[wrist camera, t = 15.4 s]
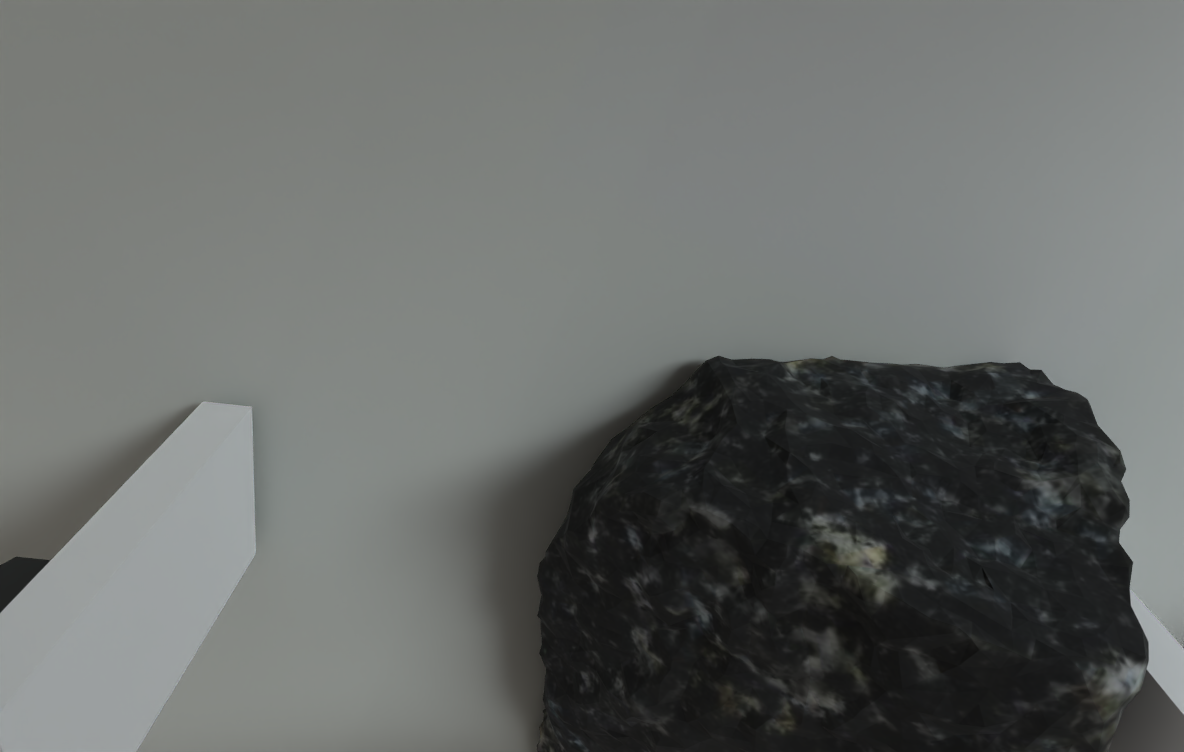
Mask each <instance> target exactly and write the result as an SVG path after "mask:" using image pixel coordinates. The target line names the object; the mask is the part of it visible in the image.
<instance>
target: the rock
mask: <svg viewBox="0 0 1184 752" xmlns="http://www.w3.org/2000/svg"><path fill="white" fill-rule="evenodd" d="M1125 471H1126V467H1125V464H1124V461H1123V458H1122V455H1121V452H1120V450H1119V449H1118V448H1117V446H1116V445H1115V444H1114V443H1113V442H1112V441H1111V440H1110V438H1109V437H1108V436H1107V435H1106V434H1105V433H1104V432H1103V431H1102V429H1101V428H1100V427H1099V426H1098V425H1097V422H1096V420H1095V417H1094V415H1093V412H1092V408H1091V406H1090V404H1089V402H1088V400H1087V399H1086V398H1084V397H1083V396H1081V395H1080V394H1078V393H1076V392H1072V391H1068V390H1065V389H1062V388H1060V387H1058V386H1055V385H1053V384H1052V383H1051V381H1050V380H1049V379H1048V378H1047V376H1046V375H1045V374H1044V373H1043V371H1042V370H1030V369H1028V368H1027V367H1025V366H1024V365H1023V364H1021V363H1020V362H1019V363H1005V364H1003V363H994V362H988V363H980V364H971V365H961V366H953V367H950V368H941V367H933V366H927V365H920V364H910V365H899V364H888V363H868V362H859V361H850V360H840V359H837V358H835V357H833V356H831V357H828V358H826V359H823V360H820V359H805V360H798V361H791V362H784V363H782V362H778V361H773V360H769V359H739V360H731V359H727V358H724V357H721V356H717V357H714V358H712V359H709V360H707V361H705V362H704V363H703V365H702V366H701V367H700V368H699V369H698V370H697V371H696V372H695V373H694V374H693V375H692V376H691V378H690V379H689V380H688V381H687V382H686V383H685V384H684V385H683V386H682V387H681V388H680V389H679V390H678V391H677V392H676V393H675V394H673V395H672V396H671V397H670V398H668V399H667V400H665V401H663V402H662V403H660V404H658V405H657V406H655V407H653V408H652V409H650V410H649V411H648V412H647V413H645V414H644V415H643V416H642V417H641V418H639V419H638V420H637V421H636V422H635V423H633V424H632V425H631V426H630V427H628V428H627V429H626V430H624V431H623V432H621V433H620V434H619V435H617V436H616V437H614V438H613V439H612V440H611V441H610V443H609V444H608V445H607V447H606V448H605V449H604V451H603V452H602V454H601V455H600V456H599V458H598V459H597V461H596V462H595V464H594V466H593V467H592V469H591V470H590V471H589V472H588V474H587V475H586V476H585V477H584V478H583V479H582V480H581V482H580V483H579V484H578V485H577V486H576V487H575V488H574V490H573V495H572V500H571V504H570V508H569V511H568V515H567V517H566V519H565V521H564V522H563V524H562V526H561V527H560V529H559V531H558V533H557V534H556V536H555V537H554V539H553V541H552V542H551V544H550V546H549V548H548V549H547V551H546V557H545V558H544V559H543V560H542V562H541V563H540V566H539V571H538V576H537V577H538V581H539V586H540V590H541V601H540V606H539V612H538V617H539V618H540V620H541V635H542V646H541V649H540V652H539V653H540V655H541V657H542V660H543V662H544V664H545V666H546V676H545V688H544V695H543V702H544V705H545V708H546V709H545V710H543V713H544V721H543V722H542V724H541V726H540V727H539V728H540V741H539V743H538V745H537V750H538V752H1108V750H1109V747H1110V745H1111V742H1112V739H1113V737H1114V734H1115V731H1116V728H1117V726H1118V723H1119V721H1120V718H1121V715H1122V713H1123V710H1124V709H1125V708H1126V707H1127V706H1128V705H1129V703H1130V702H1131V701H1132V700H1133V699H1134V698H1135V696H1136V695H1137V694H1138V693H1139V692H1140V691H1141V688H1142V684H1143V680H1144V677H1145V673H1146V669H1147V666H1148V662H1149V642H1148V640H1147V637H1146V635H1145V633H1144V631H1143V629H1142V627H1141V625H1140V623H1139V621H1138V619H1137V617H1136V615H1135V613H1134V611H1133V609H1132V607H1131V599H1130V580H1131V572H1132V565H1133V562H1132V560H1131V559H1130V557H1129V556H1128V555H1127V553H1126V552H1125V550H1124V549H1123V548H1122V546H1121V545H1120V543H1119V535H1120V529H1121V527H1122V526H1123V525H1124V523H1125V522H1126V521H1127V519H1128V518H1129V501H1130V500H1129V498H1128V496H1127V494H1126V491H1125V489H1124V487H1123V485H1122V483H1121V480H1122V478H1123V475H1124V473H1125Z"/></svg>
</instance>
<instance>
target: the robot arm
mask: <svg viewBox="0 0 1184 752" xmlns="http://www.w3.org/2000/svg"><path fill="white" fill-rule="evenodd" d="M255 554H256V534H255V497H254V460H253V423H252V407H250V406H241V405H232V404H223V403H214V402H205V401H203V402H202V403H201V404H200V405H199V406H198V407H197V408H196V409H195V410H194V411H193V412H192V413H191V414H190V415H189V416H188V417H187V418H186V419H185V420H184V422H183V423H182V424H181V425H180V426H179V427H178V428H177V429H176V430H175V431H174V432H173V433H172V434H171V435H170V436H169V437H168V438H167V439H166V440H165V441H164V442H163V443H162V445H161V446H160V447H159V448H158V449H157V450H156V451H155V452H154V453H153V454H152V455H151V456H150V457H149V458H148V459H147V460H146V461H145V462H144V463H143V464H142V465H141V466H140V468H139V469H138V470H137V471H136V472H135V473H134V474H133V475H132V476H131V477H130V478H129V479H128V480H127V481H126V482H125V483H124V484H123V485H122V486H121V487H120V488H119V489H118V491H117V492H116V493H115V494H114V495H113V496H112V497H111V498H110V499H109V500H108V501H107V502H106V503H105V504H104V505H103V506H102V507H101V508H100V509H99V510H98V511H97V512H96V514H95V515H94V516H93V517H92V518H91V519H90V520H89V521H88V522H87V523H86V524H85V525H84V526H83V527H82V528H81V529H80V530H79V531H78V532H77V533H76V534H75V535H74V536H73V538H72V539H71V540H70V541H69V542H68V543H67V544H66V545H65V546H64V547H63V548H62V549H61V550H60V551H59V552H58V553H57V554H56V555H55V556H54V557H53V558H52V559H51V560H42V559H32V558H22V557H15V558H13V559H11V560H10V561H8V562H6V563H4V564H2V565H0V752H137V750H138V748H139V747H140V745H141V743H142V742H143V740H144V738H145V737H146V735H147V733H148V732H149V730H150V728H151V727H152V725H153V723H154V722H155V720H156V718H157V717H158V715H159V713H160V712H161V710H162V708H163V707H164V705H165V703H166V702H167V700H168V699H169V697H170V695H171V694H172V692H173V690H174V689H175V687H176V685H177V684H178V682H179V680H180V679H181V677H182V675H183V674H184V672H185V670H186V669H187V667H188V665H189V664H190V662H191V660H192V659H193V657H194V655H195V654H196V652H197V650H198V649H199V647H200V645H201V644H202V642H203V640H204V639H205V637H206V636H207V634H208V632H209V631H210V629H211V627H212V626H213V624H214V622H215V621H216V619H217V617H218V616H219V614H220V612H221V611H222V609H223V607H224V606H225V604H226V602H227V601H228V599H229V597H230V596H231V594H232V592H233V591H234V589H235V587H236V586H237V584H238V582H239V581H240V579H241V577H242V576H243V574H244V573H245V571H246V569H247V568H248V566H249V564H250V563H251V561H252V559H253V558H254V556H255ZM1130 599H1131V607H1132V609H1133V611H1134V613H1135V615H1136V617H1137V619H1138V621H1139V623H1140V625H1141V627H1142V629H1143V631H1144V633H1145V635H1146V637H1147V640H1148V642H1149V662H1148V666H1147V669H1146V673H1145V677H1144V680H1143V684H1142V688H1141V691H1140V692H1139V693H1138V694H1137V695H1136V696H1135V698H1134V699H1133V700H1132V701H1131V702H1130V703H1129V705H1128V706H1127V707H1126V708H1125V709H1124V710H1123V713H1122V715H1121V718H1120V721H1119V723H1118V726H1117V728H1116V731H1115V734H1114V737H1113V739H1112V742H1111V745H1110V747H1109V750H1108V752H1184V648H1183V647H1182V646H1181V645H1180V644H1179V642H1178V641H1177V640H1176V639H1175V638H1174V637H1173V636H1172V635H1171V634H1170V632H1169V631H1168V630H1167V629H1166V628H1165V627H1164V626H1163V625H1162V623H1161V622H1160V621H1159V620H1158V619H1157V618H1156V617H1155V616H1154V615H1153V613H1152V612H1151V611H1150V610H1149V609H1148V608H1147V607H1146V606H1145V604H1144V603H1143V602H1142V601H1141V600H1140V599H1139V598H1138V597H1137V596H1136V594H1135V593H1134V592H1133V591H1132V590H1131V589H1130Z"/></svg>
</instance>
